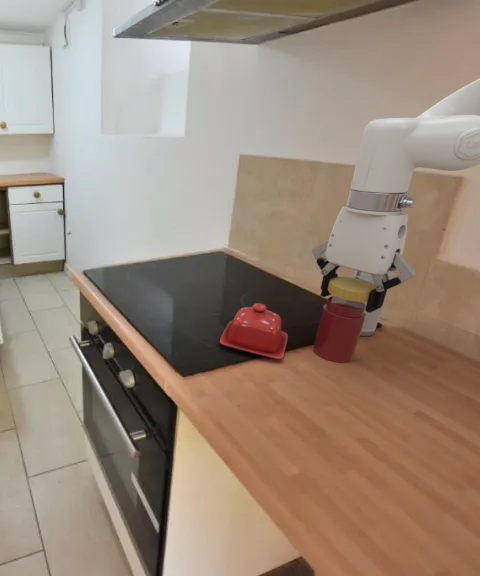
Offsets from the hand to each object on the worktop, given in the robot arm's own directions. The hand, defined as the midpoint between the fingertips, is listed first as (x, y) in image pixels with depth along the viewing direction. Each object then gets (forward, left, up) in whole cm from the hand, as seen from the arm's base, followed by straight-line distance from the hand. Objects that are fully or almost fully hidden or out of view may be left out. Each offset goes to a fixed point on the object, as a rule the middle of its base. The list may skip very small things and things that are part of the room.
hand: (348, 301), depth 68 cm
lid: (0, 0, +3) cm, 3 cm away
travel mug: (-14, -3, -11) cm, 18 cm away
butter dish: (+10, -10, -11) cm, 18 cm away
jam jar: (0, 0, -11) cm, 11 cm away
